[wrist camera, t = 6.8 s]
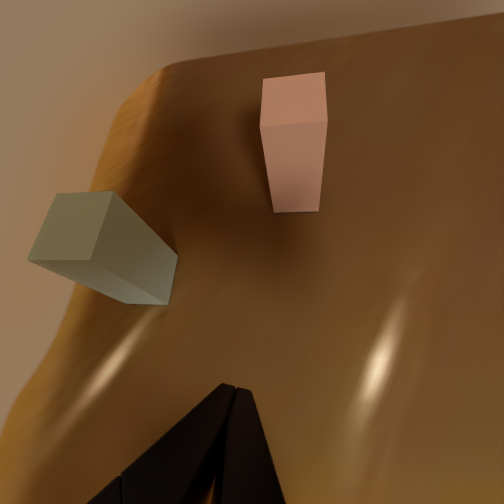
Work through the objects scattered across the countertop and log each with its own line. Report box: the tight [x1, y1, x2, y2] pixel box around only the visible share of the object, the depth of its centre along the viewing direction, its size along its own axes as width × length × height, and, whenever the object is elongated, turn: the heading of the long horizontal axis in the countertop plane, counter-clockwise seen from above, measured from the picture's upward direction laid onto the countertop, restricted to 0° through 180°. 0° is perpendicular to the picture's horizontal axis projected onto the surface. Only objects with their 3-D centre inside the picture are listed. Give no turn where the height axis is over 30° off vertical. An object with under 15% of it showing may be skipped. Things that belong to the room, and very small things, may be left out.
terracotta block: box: [260, 72, 328, 213], centre depth 21 cm, size 4×4×10 cm
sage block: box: [27, 191, 178, 305], centre depth 20 cm, size 4×4×10 cm
